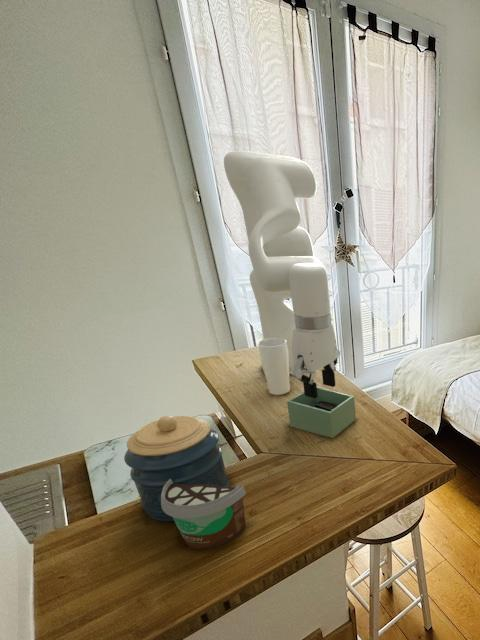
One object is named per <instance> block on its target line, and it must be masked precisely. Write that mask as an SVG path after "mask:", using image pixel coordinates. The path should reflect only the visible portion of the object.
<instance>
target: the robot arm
mask: <svg viewBox="0 0 480 640" xmlns="http://www.w3.org/2000/svg"><path fill="white" fill-rule="evenodd" d="M223 168H224V172H225V175H226V179H227V181H228V183H229V185H230V188H231V189H232V191H233V193H234V194H235V195H234V196H235V197H236V198H237V200H238V202H239V204H240V207H241V210H242V214H243V221H244V225H245V231H246V237H247V241H248V243H247V244H248V245H247V246H248V255H249V259H250V263H251V266H252V270H251V272H250V273H249V283H250V286H251V289H252V292H253V295H254V298H255V301H256V305H257V309H258V315H259V320H260V327H261V331H262V338H263V339H268V338H281V339H284V340H286V343H287V348H288V357H289V375H291V377H293V378H295V379H297V380H298V381H300V382H301V383H302V384H303V385H302V387H303V392H304V394H305V396H308V397H312V398H317V396H318V395H317V387H318V386H317V382H315V378H316V372H317V371H319V370H321V377H322V384H323V386H328V387H330V388H331V387H332V388H334V387H336V377H335V376H336V375H335V372H336V370H337V367H336V365H337V364H338V360H339V357H340V355H341V351H340V350H339V349H338V347H337V338H336V332H335V329H334V325H333V323H332V311H331V301H330V290H329V289H330V288H329V279H328V278H329V276H328V271H327V269H326V267H325V265H324V264H323V263H322V261H321V260H320V259H319V258H317V257H315V253H314V245H313V242H312V238H311V236H310V234H309V232H308V231H307V230H306V229H305V228H303V227H301V226H300V224H301V223H302V214H301V211H300V208H299V205H298V202H297V200H296V199H312V198H314V197H315V195H316V194H317V180H316V176H315V174H314V172H313V170H312V168H311V167H310V165H309V164H308V163H307V162H305V161H304V160H302V159H299V158H296V157H294V156H287V155H279V154H271V153H263V152H256V151H246V150H236V151H235V150H233V151H229V152H228V153H226V154H225V155H224V157H223ZM285 300H291V304H292V306H291V305H289V304H288V303H287V302H285ZM263 339H262V340H263ZM261 367H262V371H263V372H264V370H263V366H262V365H261ZM322 368H323V369H322ZM308 374H309V375H308Z"/></svg>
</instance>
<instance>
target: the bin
mask: <svg viewBox="0 0 480 640" xmlns="http://www.w3.org/2000/svg"><path fill="white" fill-rule="evenodd" d="M317 395H318V396H317V398H312V397H308V396H305V394H304V391H302V392H301V393H298V394H297V395H295V396H293V397H292V398H290V399H288V400H287V401H286V405H287V411H288V418H289V425H290V427H293V428H296V429H298V430H303V431H307V432H309V433H313V434H317V435H320V436H324V437H328V438H331V439H334V438H335V437H336V436H338V435H339V434H340V433H341V432H342V431H344V430H345V429H346V428H347V427H349V426H350V425H351V424H353V422H355V421H356V419H357V418H356V416H357V415H356V404H355V403H356V402H355V396H354V395H351V394H347V393H343V392H340V391H336V390H332V389H328V388H324V387H320V386H317ZM319 401H325V402H328V403H331V404H334V405H337V407H336V408H334V409H333V410H331V411H326V410H322V409H319V408H315V403H317V402H319Z"/></svg>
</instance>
